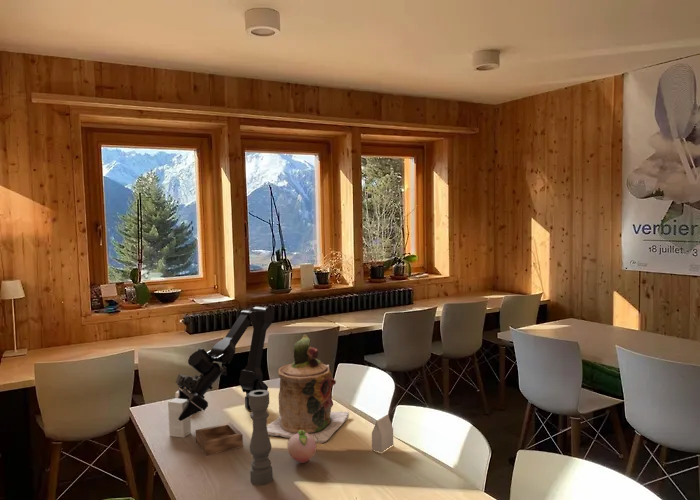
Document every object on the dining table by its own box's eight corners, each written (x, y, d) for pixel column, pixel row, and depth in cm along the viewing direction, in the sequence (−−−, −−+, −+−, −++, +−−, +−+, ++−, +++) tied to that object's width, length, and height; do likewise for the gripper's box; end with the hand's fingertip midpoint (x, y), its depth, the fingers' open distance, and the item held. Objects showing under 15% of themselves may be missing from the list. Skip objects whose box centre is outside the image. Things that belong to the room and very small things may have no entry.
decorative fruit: (284, 458, 166) (283, 427, 165) (310, 454, 169) (309, 423, 168) (292, 472, 157) (291, 438, 156) (319, 467, 160) (318, 434, 159)
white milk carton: (393, 446, 173) (392, 415, 173) (381, 454, 168) (381, 422, 167) (383, 443, 175) (383, 413, 175) (372, 451, 170) (371, 420, 169)
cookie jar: (259, 436, 183) (256, 343, 181) (290, 410, 207) (287, 327, 204) (327, 444, 175) (325, 347, 173) (351, 417, 199) (349, 331, 196)
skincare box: (191, 433, 187) (190, 399, 186) (183, 438, 183) (182, 403, 182) (176, 431, 189) (175, 397, 188) (168, 436, 185) (167, 401, 184)
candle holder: (251, 474, 156) (248, 390, 154) (273, 473, 156) (270, 389, 155) (249, 485, 150) (246, 397, 148) (271, 484, 150) (269, 396, 148)
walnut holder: (231, 433, 186) (230, 422, 185) (242, 446, 175) (242, 434, 175) (195, 441, 179) (195, 430, 179) (206, 455, 169) (205, 443, 169)
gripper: (183, 359, 194) (152, 394, 189) (197, 371, 178) (163, 411, 173) (205, 376, 199) (176, 412, 194) (221, 390, 183) (189, 429, 178)
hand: (175, 415), depth 185 cm, fingers open, 9 cm apart
